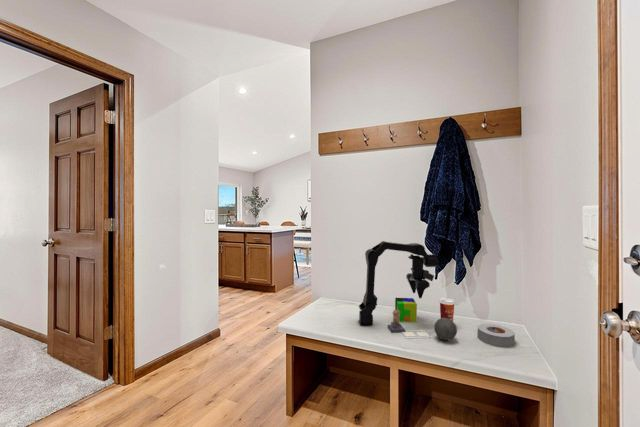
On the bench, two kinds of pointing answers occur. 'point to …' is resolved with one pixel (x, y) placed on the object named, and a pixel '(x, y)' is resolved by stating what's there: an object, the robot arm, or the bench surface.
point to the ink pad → (396, 329)
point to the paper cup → (447, 308)
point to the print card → (416, 334)
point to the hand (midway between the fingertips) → (417, 295)
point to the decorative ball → (445, 329)
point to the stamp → (396, 319)
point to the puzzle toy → (406, 309)
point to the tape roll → (496, 335)
